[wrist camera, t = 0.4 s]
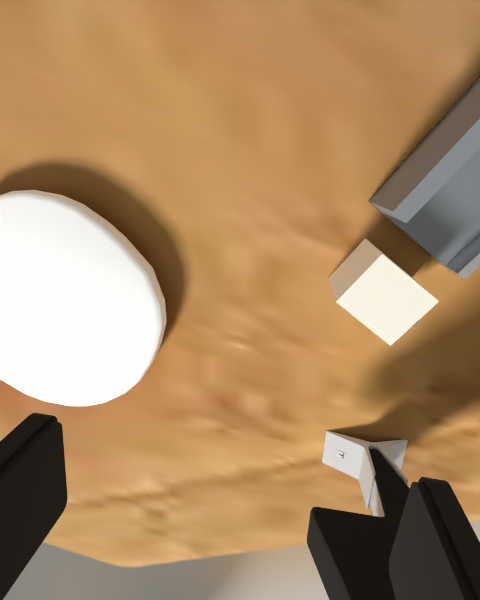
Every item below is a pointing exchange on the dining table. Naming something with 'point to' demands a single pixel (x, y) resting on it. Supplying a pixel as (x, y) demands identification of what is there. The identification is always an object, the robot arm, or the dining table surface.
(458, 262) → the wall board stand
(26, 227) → the plate
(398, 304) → the cabinet block
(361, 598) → the award
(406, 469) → the dining table surface
